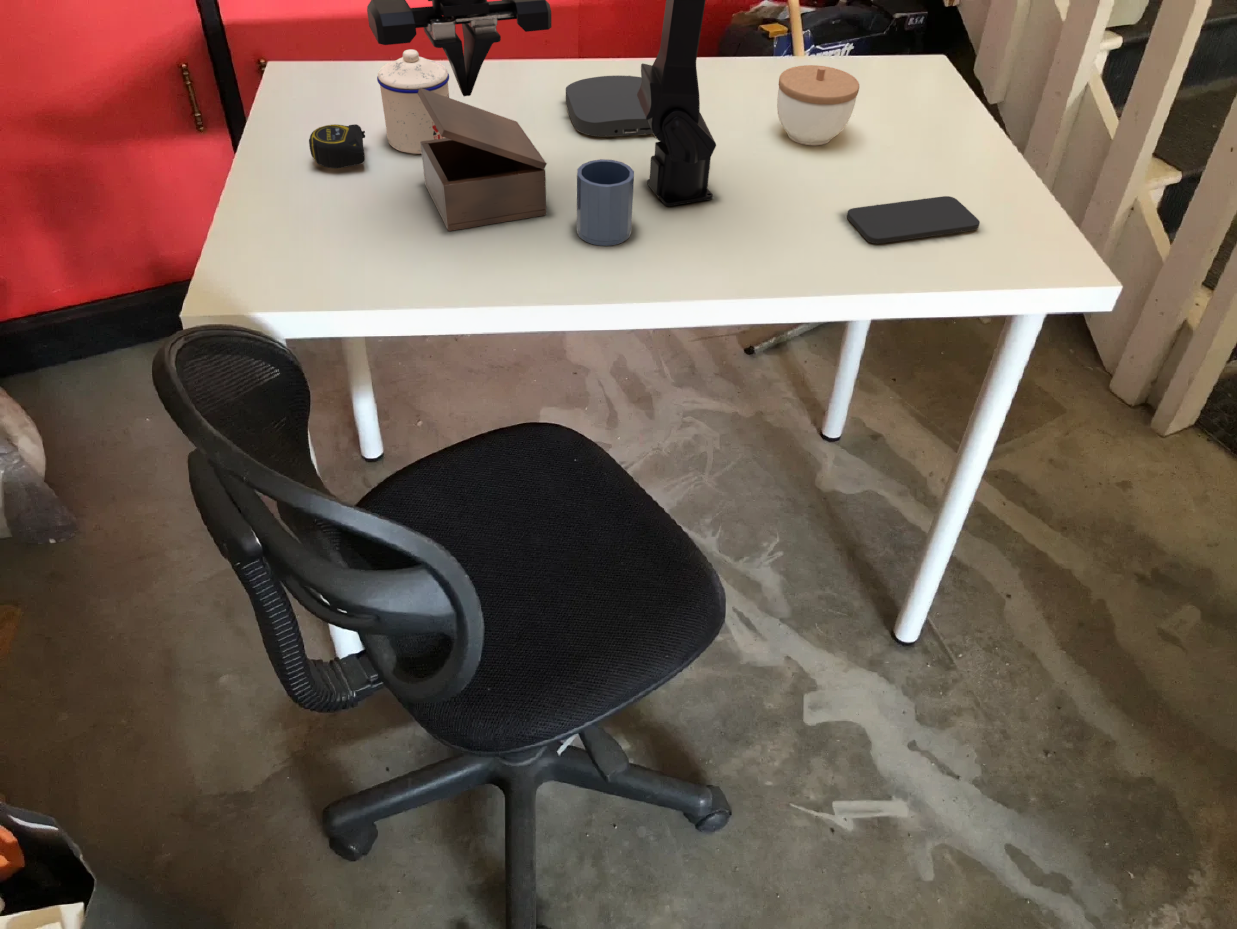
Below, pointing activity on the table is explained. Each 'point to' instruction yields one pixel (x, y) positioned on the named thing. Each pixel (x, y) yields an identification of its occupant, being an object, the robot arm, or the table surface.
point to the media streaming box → (607, 106)
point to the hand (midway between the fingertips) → (466, 94)
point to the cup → (604, 202)
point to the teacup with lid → (410, 99)
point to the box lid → (480, 129)
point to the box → (480, 185)
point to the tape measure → (337, 145)
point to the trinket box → (815, 102)
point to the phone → (912, 219)
